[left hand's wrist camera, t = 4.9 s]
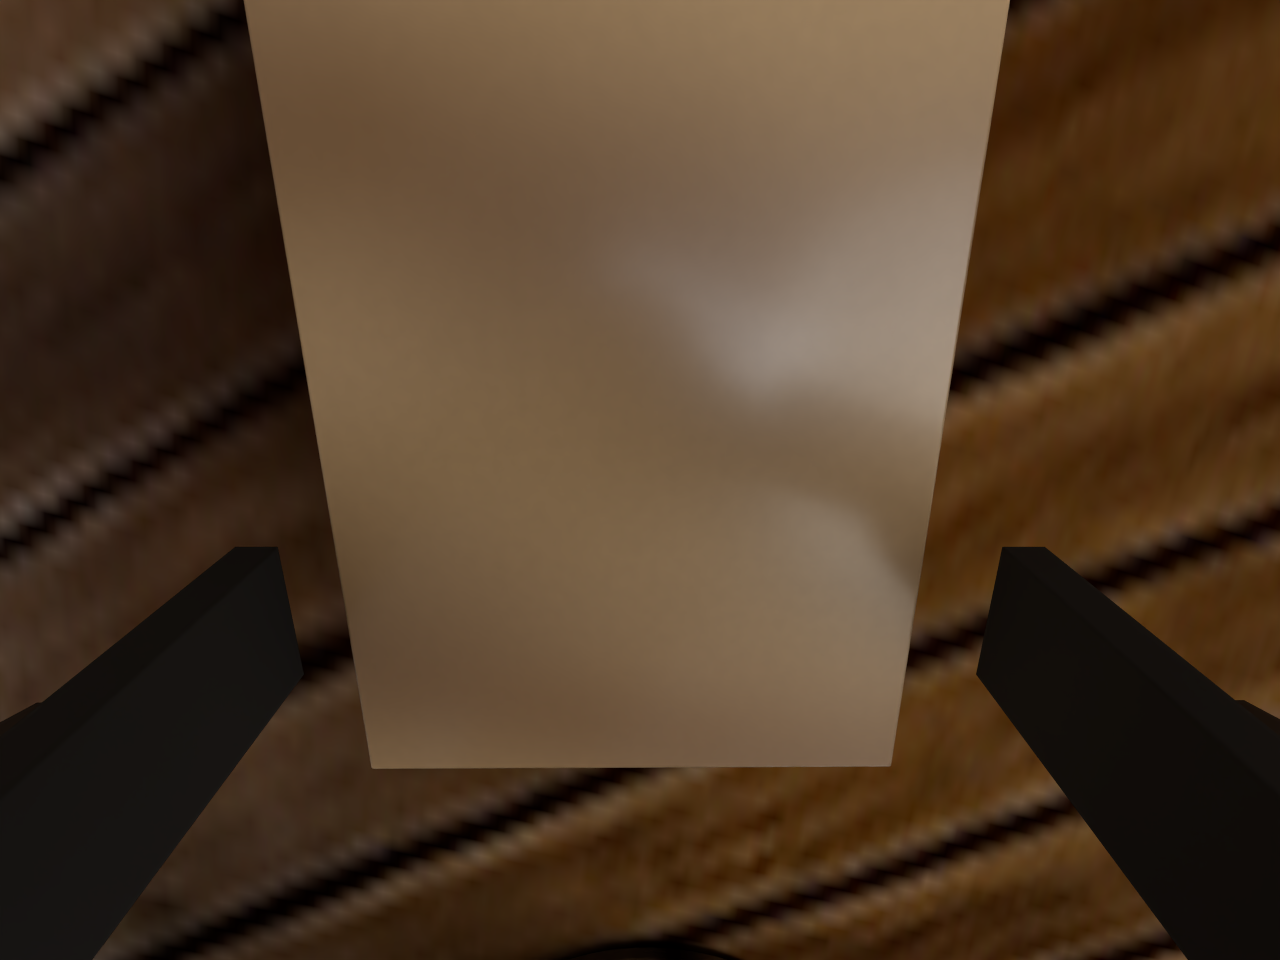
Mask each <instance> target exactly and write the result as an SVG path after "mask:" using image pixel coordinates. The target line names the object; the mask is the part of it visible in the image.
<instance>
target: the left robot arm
mask: <svg viewBox="0 0 1280 960" xmlns="http://www.w3.org/2000/svg"><path fill="white" fill-rule="evenodd" d="M303 675H304V673H303V668H302V663H301V658H300V653H299V649H298V644H297V639H296V634H295V629H294V624H293V619H292V615H291V610H290V605H289V600H288V595H287V590H286V585H285V581H284V576H283V571H282V566H281V561H280V556H279V552H278V547H235V548H233V549H232V550H231V551H230V552H228V553H227V554H226V555H225V556H223V557H222V558H221V559H220V560H218V561H217V562H216V563H215V564H213V565H212V566H211V567H210V568H209V569H207V570H206V571H205V572H204V573H202V574H201V575H200V576H199V577H197V578H196V579H195V580H194V581H192V582H191V583H190V584H189V585H187V586H186V587H185V588H184V589H182V590H181V591H180V592H179V593H177V594H176V595H175V596H174V597H173V598H171V599H170V600H169V601H168V602H166V603H165V604H164V605H163V606H161V607H160V608H159V609H158V610H156V611H155V612H154V613H153V614H151V615H150V616H149V617H148V618H146V619H145V620H144V621H143V622H141V623H140V624H139V625H138V626H137V627H135V628H134V629H133V630H132V631H130V632H129V633H128V634H127V635H125V636H124V637H123V638H122V639H120V640H119V641H118V642H117V643H115V644H114V645H113V646H112V647H110V648H109V649H108V650H107V651H105V652H104V653H103V654H102V655H101V656H99V657H98V658H97V659H96V660H94V661H93V662H92V663H91V664H89V665H88V666H87V667H86V668H84V669H83V670H82V671H81V672H79V673H78V674H77V675H76V676H74V677H73V678H72V679H71V680H69V681H68V682H67V683H66V684H65V685H63V686H62V687H61V688H60V689H58V690H57V691H56V692H55V693H53V694H52V695H51V696H50V697H48V698H47V699H46V700H45V701H43V702H42V703H35V704H34V705H32V706H30V707H28V708H26V709H24V710H22V711H21V712H19V713H17V714H15V715H13V716H11V717H9V718H7V719H6V720H4V721H2V722H0V960H92V959H93V958H94V957H95V955H96V954H97V952H98V951H99V950H100V948H101V947H102V946H103V944H104V943H105V942H106V940H107V939H108V938H109V936H110V935H111V934H112V932H113V931H114V930H115V928H116V927H117V926H118V924H119V923H120V921H121V920H122V919H123V917H124V916H125V915H126V913H127V912H128V911H129V909H130V908H131V907H132V905H133V904H134V903H135V901H136V900H137V899H138V897H139V896H140V894H141V893H142V892H143V890H144V889H145V888H146V886H147V885H148V884H149V882H150V881H151V880H152V878H153V877H154V876H155V874H156V873H157V872H158V870H159V869H160V868H161V866H162V865H163V863H164V862H165V861H166V859H167V858H168V857H169V855H170V854H171V853H172V851H173V850H174V849H175V847H176V846H177V845H178V843H179V842H180V841H181V839H182V838H183V837H184V835H185V834H186V832H187V831H188V830H189V828H190V827H191V826H192V824H193V823H194V822H195V820H196V819H197V818H198V816H199V815H200V814H201V812H202V811H203V810H204V808H205V807H206V805H207V804H208V803H209V801H210V800H211V799H212V797H213V796H214V795H215V793H216V792H217V791H218V789H219V788H220V787H221V785H222V784H223V783H224V781H225V780H226V779H227V777H228V776H229V774H230V773H231V772H232V770H233V769H234V768H235V766H236V765H237V764H238V762H239V761H240V760H241V758H242V757H243V756H244V754H245V753H246V752H247V750H248V749H249V748H250V746H251V745H252V743H253V742H254V741H255V739H256V738H257V737H258V735H259V734H260V733H261V731H262V730H263V729H264V727H265V726H266V725H267V723H268V722H269V721H270V719H271V718H272V716H273V715H274V714H275V712H276V711H277V710H278V708H279V707H280V706H281V704H282V703H283V702H284V700H285V699H286V698H287V696H288V695H289V694H290V692H291V691H292V690H293V688H294V687H295V685H296V684H297V683H298V681H299V680H300V679H301V677H302V676H303ZM976 675H977V676H978V677H979V679H980V680H981V681H982V683H983V684H984V685H985V687H986V688H987V690H988V691H989V692H990V694H991V695H992V696H993V698H994V699H995V700H996V702H997V703H998V704H999V706H1000V707H1001V708H1002V710H1003V711H1004V712H1005V714H1006V715H1007V716H1008V718H1009V719H1010V721H1011V722H1012V723H1013V725H1014V726H1015V727H1016V729H1017V730H1018V731H1019V733H1020V734H1021V735H1022V737H1023V738H1024V739H1025V741H1026V742H1027V743H1028V745H1029V746H1030V748H1031V749H1032V750H1033V752H1034V753H1035V754H1036V756H1037V757H1038V758H1039V760H1040V761H1041V762H1042V764H1043V765H1044V766H1045V768H1046V769H1047V770H1048V772H1049V773H1050V774H1051V776H1052V777H1053V779H1054V780H1055V781H1056V783H1057V784H1058V785H1059V787H1060V788H1061V789H1062V791H1063V792H1064V793H1065V795H1066V796H1067V797H1068V799H1069V800H1070V801H1071V803H1072V804H1073V805H1074V807H1075V808H1076V810H1077V811H1078V812H1079V814H1080V815H1081V816H1082V818H1083V819H1084V820H1085V822H1086V823H1087V824H1088V826H1089V827H1090V828H1091V830H1092V831H1093V832H1094V834H1095V835H1096V837H1097V838H1098V839H1099V841H1100V842H1101V843H1102V845H1103V846H1104V847H1105V849H1106V850H1107V851H1108V853H1109V854H1110V855H1111V857H1112V858H1113V859H1114V861H1115V862H1116V863H1117V865H1118V866H1119V868H1120V869H1121V870H1122V872H1123V873H1124V874H1125V876H1126V877H1127V878H1128V880H1129V881H1130V882H1131V884H1132V885H1133V886H1134V888H1135V889H1136V890H1137V892H1138V893H1139V894H1140V896H1141V897H1142V899H1143V900H1144V901H1145V903H1146V904H1147V905H1148V907H1149V908H1150V909H1151V911H1152V912H1153V913H1154V915H1155V916H1156V917H1157V919H1158V920H1159V921H1160V923H1161V924H1162V926H1163V927H1164V928H1165V930H1166V931H1167V932H1168V934H1169V935H1170V936H1171V938H1172V939H1173V940H1174V942H1175V943H1176V944H1177V946H1178V947H1179V948H1180V950H1181V951H1182V952H1183V954H1184V955H1185V957H1186V958H1187V959H1188V960H1280V719H1278V718H1276V717H1274V716H1273V715H1271V714H1269V713H1267V712H1265V711H1263V710H1261V709H1259V708H1258V707H1256V706H1254V705H1252V704H1250V703H1248V702H1246V701H1244V700H1234V699H1233V698H1232V697H1230V696H1229V695H1228V694H1227V693H1225V692H1224V691H1223V690H1222V689H1220V688H1219V687H1218V686H1217V685H1215V684H1214V683H1213V682H1212V681H1211V680H1209V679H1208V678H1207V677H1206V676H1204V675H1203V674H1202V673H1201V672H1199V671H1198V670H1197V669H1196V668H1194V667H1193V666H1192V665H1191V664H1189V663H1188V662H1187V661H1186V660H1184V659H1183V658H1182V657H1181V656H1179V655H1178V654H1177V653H1176V652H1175V651H1173V650H1172V649H1171V648H1170V647H1168V646H1167V645H1166V644H1165V643H1163V642H1162V641H1161V640H1160V639H1158V638H1157V637H1156V636H1155V635H1153V634H1152V633H1151V632H1150V631H1148V630H1147V629H1146V628H1145V627H1143V626H1142V625H1141V624H1140V623H1139V622H1137V621H1136V620H1135V619H1134V618H1132V617H1131V616H1130V615H1129V614H1127V613H1126V612H1125V611H1124V610H1122V609H1121V608H1120V607H1119V606H1117V605H1116V604H1115V603H1114V602H1112V601H1111V600H1110V599H1109V598H1107V597H1106V596H1105V595H1104V594H1103V593H1101V592H1100V591H1099V590H1098V589H1096V588H1095V587H1094V586H1093V585H1091V584H1090V583H1089V582H1088V581H1086V580H1085V579H1084V578H1083V577H1081V576H1080V575H1079V574H1078V573H1076V572H1075V571H1074V570H1073V569H1071V568H1070V567H1069V566H1068V565H1067V564H1065V563H1064V562H1063V561H1062V560H1060V559H1059V558H1058V557H1057V556H1055V555H1054V554H1053V553H1052V552H1050V551H1049V550H1048V549H1047V548H1045V547H1002V552H1001V556H1000V561H999V566H998V571H997V576H996V581H995V585H994V590H993V595H992V600H991V605H990V610H989V615H988V619H987V624H986V629H985V634H984V639H983V644H982V649H981V653H980V658H979V663H978V668H977V673H976ZM569 960H725V959H722V958H719V957H716V956H712V955H708V954H704V953H699V952H693V951H687V950H680V949H670V948H646V947H645V948H625V949H616V950H607V951H602V952H596V953H591V954H587V955H583V956H579V957H576V958H572V959H569Z"/></svg>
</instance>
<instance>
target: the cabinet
mask: <svg viewBox="0 0 1280 960" xmlns="http://www.w3.org/2000/svg"><path fill="white" fill-rule="evenodd" d="M1009 2H1010V0H244V5H245V11H246V17H247V23H248V29H249V35H250V41H251V47H252V53H253V59H254V65H255V71H256V77H257V83H258V89H259V95H260V101H261V107H262V113H263V119H264V125H265V131H266V137H267V143H268V149H269V155H270V161H271V167H272V173H273V179H274V185H275V191H276V197H277V203H278V209H279V215H280V221H281V227H282V233H283V239H284V245H285V251H286V257H287V263H288V269H289V275H290V281H291V287H292V293H293V299H294V305H295V311H296V317H297V323H298V329H299V335H300V341H301V347H302V353H303V359H304V365H305V371H306V377H307V383H308V389H309V395H310V401H311V407H312V413H313V419H314V425H315V431H316V437H317V443H318V449H319V455H320V461H321V467H322V473H323V479H324V485H325V491H326V497H327V503H328V509H329V515H330V521H331V527H332V533H333V539H334V545H335V551H336V557H337V563H338V569H339V575H340V581H341V587H342V593H343V599H344V605H345V611H346V617H347V623H348V629H349V635H350V641H351V647H352V653H353V659H354V665H355V671H356V677H357V683H358V689H359V695H360V701H361V707H362V713H363V719H364V725H365V731H366V737H367V743H368V749H369V755H370V761H371V767H372V768H373V769H421V768H642V767H863V766H890V765H891V761H892V755H893V748H894V742H895V736H896V729H897V723H898V716H899V710H900V703H901V697H902V690H903V684H904V678H905V671H906V665H907V658H908V652H909V645H910V639H911V633H912V626H913V620H914V613H915V607H916V600H917V594H918V588H919V581H920V575H921V568H922V562H923V555H924V549H925V542H926V536H927V530H928V523H929V517H930V510H931V504H932V497H933V491H934V485H935V478H936V472H937V465H938V459H939V452H940V446H941V439H942V433H943V427H944V420H945V414H946V407H947V401H948V394H949V388H950V382H951V375H952V369H953V362H954V356H955V349H956V343H957V337H958V330H959V324H960V317H961V311H962V304H963V298H964V291H965V285H966V279H967V272H968V266H969V259H970V253H971V246H972V240H973V234H974V227H975V221H976V214H977V208H978V201H979V195H980V188H981V182H982V176H983V169H984V163H985V156H986V150H987V143H988V137H989V131H990V124H991V118H992V111H993V105H994V98H995V92H996V85H997V79H998V73H999V66H1000V60H1001V53H1002V47H1003V40H1004V34H1005V28H1006V21H1007V15H1008V8H1009Z"/></svg>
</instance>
